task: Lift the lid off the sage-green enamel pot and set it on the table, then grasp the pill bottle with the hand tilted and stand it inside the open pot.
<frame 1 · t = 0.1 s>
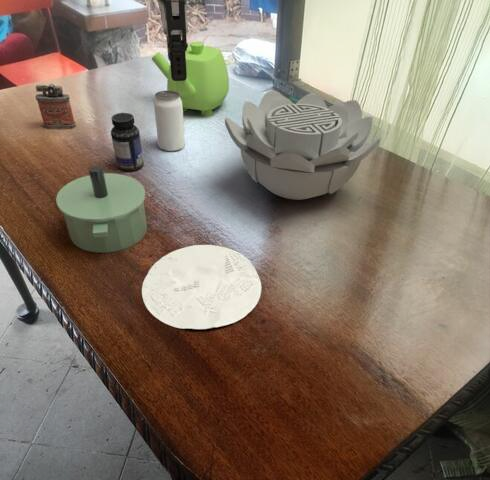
hand: (177, 70, 69), 28 cm above the table, tool pointing down, fingers open, 8 cm apart
pill bottle: (130, 166, 105), on the table
decorative bowl: (294, 184, 102), on the table
can: (171, 146, 112), on the table
plaque: (202, 288, 77), on the table
pot: (109, 229, 87), on the table
teapot: (188, 107, 129), on the table
lighter: (60, 127, 117), on the table
lid: (101, 197, 82), point 7 cm above the table, touching pot
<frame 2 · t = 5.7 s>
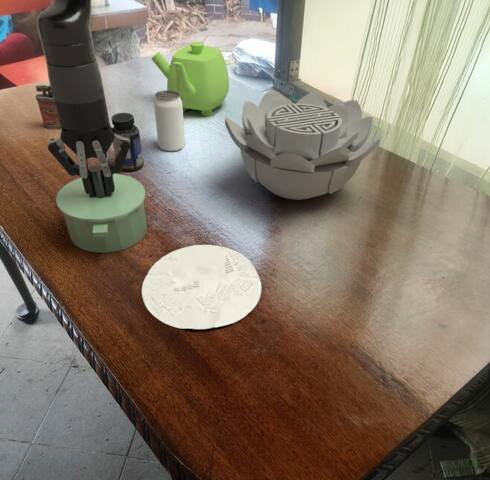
hand: (100, 193, 81), 8 cm above the table, tool pointing down, fingers closed on lid, 2 cm apart
lid: (101, 197, 82), point 7 cm above the table, touching gripper, pot
everything else where it was.
when the fingers open (1 cm above the table, at t = 13.4 s): lid stays where it is, point 1 cm above the table.
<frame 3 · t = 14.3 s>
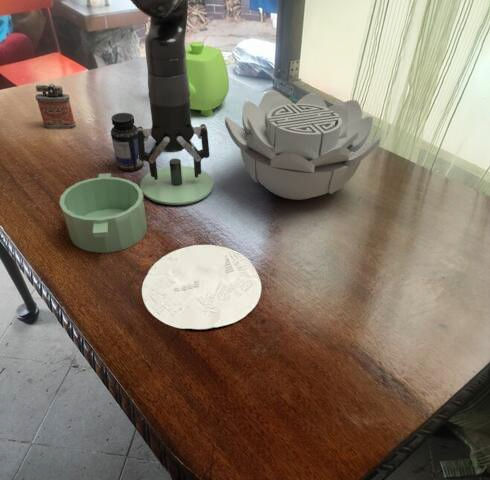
hand: (176, 176, 96), 3 cm above the table, tool pointing down, fingers open, 8 cm apart
lid: (177, 185, 98), point 1 cm above the table
everything else where it was.
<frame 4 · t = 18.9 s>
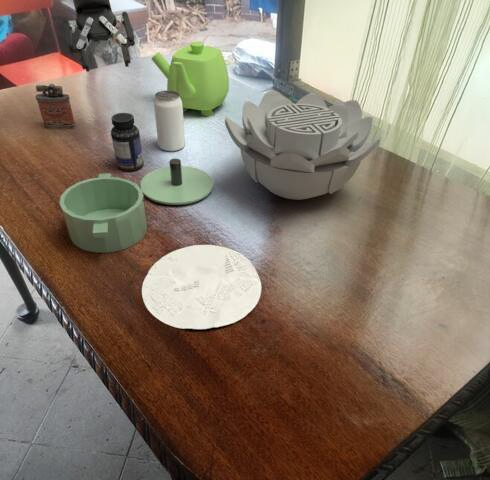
hand: (107, 67, 99), 17 cm above the table, tool tilted 45°, fingers open, 8 cm apart
nothing on the table moved.
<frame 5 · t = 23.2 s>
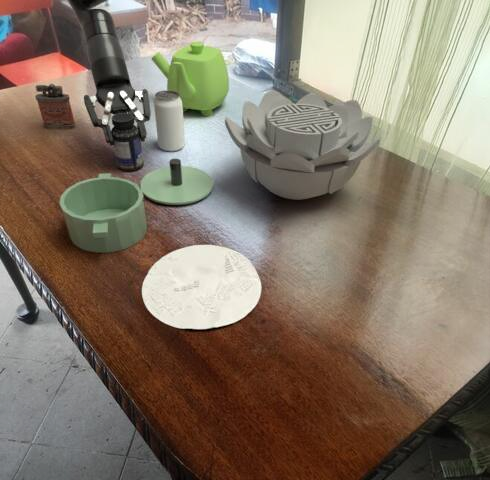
hand: (127, 142, 99), 6 cm above the table, tool tilted 45°, fingers closed on pill bottle, 6 cm apart
pill bottle: (130, 166, 105), on the table, touching gripper
everything else where it was.
when the fingers open (7 cm above the table, at t = 33.0 s): pill bottle stays where it is, resting on pot.
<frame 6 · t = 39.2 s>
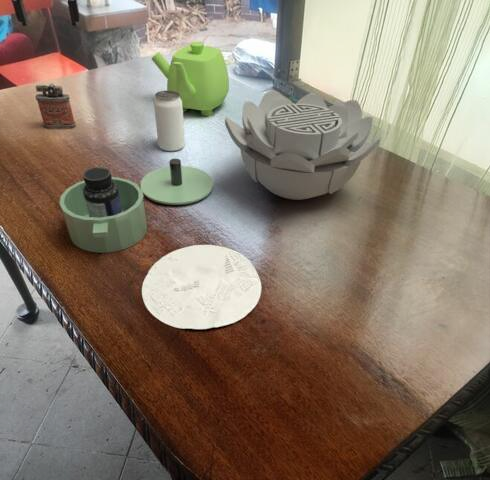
hand: (50, 24, 82), 28 cm above the table, tool pointing down, fingers open, 8 cm apart
pill bottle: (109, 227, 87), resting on pot
everything else where it was.
at the end: lid inside the target area on the table beside the pot (0.1 cm from its centre), point 0.6 cm above the table; pill bottle inside the target area in the pot (0.2 cm from its centre), point 0.3 cm above the pot's base; pill bottle tilted 0° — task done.
